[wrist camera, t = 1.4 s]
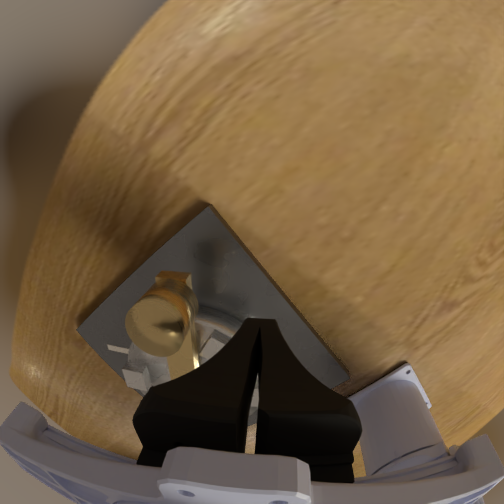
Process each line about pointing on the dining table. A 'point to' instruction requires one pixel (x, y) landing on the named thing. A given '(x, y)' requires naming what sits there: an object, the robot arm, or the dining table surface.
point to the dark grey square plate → (212, 297)
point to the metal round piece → (174, 333)
